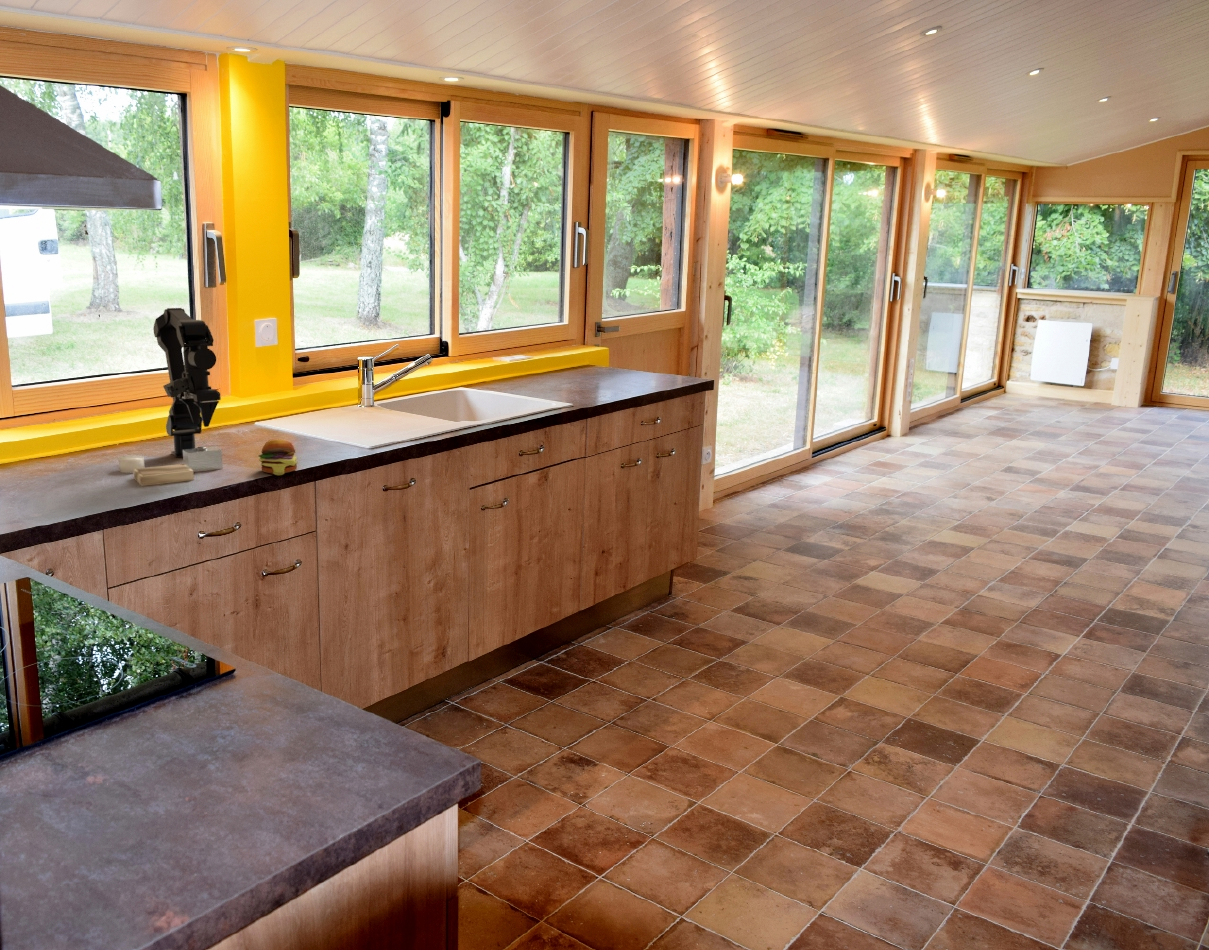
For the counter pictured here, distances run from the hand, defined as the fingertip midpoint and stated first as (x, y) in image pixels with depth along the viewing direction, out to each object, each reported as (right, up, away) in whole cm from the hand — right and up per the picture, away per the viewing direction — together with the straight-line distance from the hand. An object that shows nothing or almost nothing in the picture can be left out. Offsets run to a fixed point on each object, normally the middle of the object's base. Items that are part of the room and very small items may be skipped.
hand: (200, 425), depth 292 cm
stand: (-6, -15, -9) cm, 18 cm away
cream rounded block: (-19, -12, -1) cm, 22 cm away
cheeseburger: (+20, -13, +3) cm, 24 cm away
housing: (-1, -12, +3) cm, 12 cm away
